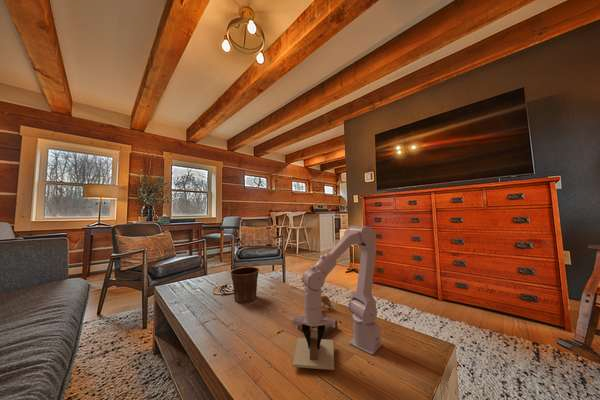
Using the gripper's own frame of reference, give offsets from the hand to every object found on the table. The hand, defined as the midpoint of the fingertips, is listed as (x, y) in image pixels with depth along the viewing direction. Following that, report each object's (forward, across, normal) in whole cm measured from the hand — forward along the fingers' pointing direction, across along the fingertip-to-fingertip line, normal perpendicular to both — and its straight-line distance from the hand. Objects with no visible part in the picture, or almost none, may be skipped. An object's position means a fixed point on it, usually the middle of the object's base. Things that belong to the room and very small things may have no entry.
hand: (314, 347), depth 72 cm
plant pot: (+4, +43, -46) cm, 63 cm away
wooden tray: (+4, 0, -19) cm, 19 cm away
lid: (+2, 0, 0) cm, 2 cm away
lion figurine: (+4, 0, -36) cm, 36 cm away
